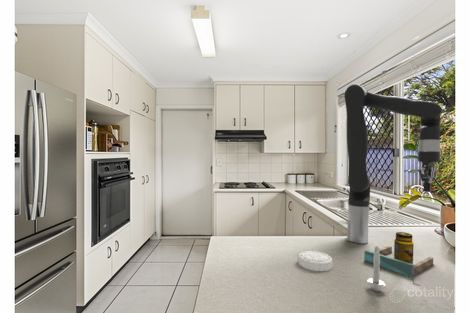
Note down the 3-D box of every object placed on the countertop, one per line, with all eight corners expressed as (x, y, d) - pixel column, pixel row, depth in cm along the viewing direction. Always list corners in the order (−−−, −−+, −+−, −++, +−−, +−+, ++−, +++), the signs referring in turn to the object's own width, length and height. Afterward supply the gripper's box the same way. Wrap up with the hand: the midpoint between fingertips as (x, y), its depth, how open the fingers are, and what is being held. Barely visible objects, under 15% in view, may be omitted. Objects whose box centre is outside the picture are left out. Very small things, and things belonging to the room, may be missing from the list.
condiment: (416, 270, 94) (417, 237, 94) (390, 267, 97) (390, 234, 97) (410, 263, 101) (411, 232, 101) (385, 259, 104) (386, 229, 104)
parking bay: (388, 251, 114) (389, 242, 114) (433, 264, 101) (433, 253, 101) (364, 261, 101) (364, 250, 101) (411, 277, 88) (411, 265, 89)
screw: (388, 293, 77) (372, 293, 77) (379, 285, 82) (363, 285, 82) (389, 249, 77) (373, 248, 77) (380, 243, 82) (365, 243, 82)
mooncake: (313, 274, 89) (313, 263, 89) (291, 261, 100) (291, 251, 100) (339, 269, 94) (339, 259, 94) (316, 257, 105) (316, 248, 105)
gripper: (424, 151, 119) (422, 189, 118) (412, 150, 111) (410, 191, 111) (444, 151, 112) (443, 192, 112) (434, 150, 105) (432, 193, 105)
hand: (427, 191), depth 112 cm, fingers closed
